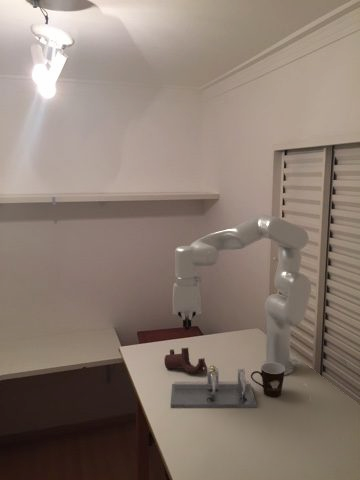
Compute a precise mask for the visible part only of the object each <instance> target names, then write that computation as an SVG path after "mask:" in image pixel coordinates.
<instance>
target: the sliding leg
mask: <svg viewBox="0 0 360 480" xmlns="http://www.w3.org/2000/svg"><path fill="white" fill-rule="evenodd" d="M206 372H207V373H206V378H207V381H206V382H208V389H213V399H215V389H219V384H218V381H219V368H218V367H217V366H215V365H210V366H209V367H207V370H206Z"/></svg>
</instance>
